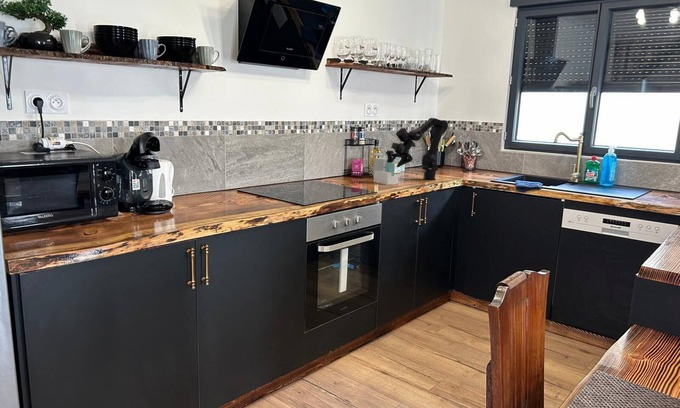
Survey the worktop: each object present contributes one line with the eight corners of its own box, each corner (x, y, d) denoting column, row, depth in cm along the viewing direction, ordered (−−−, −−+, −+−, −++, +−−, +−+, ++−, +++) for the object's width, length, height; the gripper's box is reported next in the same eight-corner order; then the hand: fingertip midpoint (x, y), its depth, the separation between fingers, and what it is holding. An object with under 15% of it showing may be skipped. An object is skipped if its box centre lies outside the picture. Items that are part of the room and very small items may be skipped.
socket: (385, 181, 313) (386, 169, 312) (399, 183, 304) (400, 172, 303) (373, 182, 307) (374, 170, 306) (387, 184, 298) (387, 172, 297)
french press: (373, 173, 350) (374, 137, 345) (388, 175, 343) (389, 138, 339) (365, 174, 342) (367, 137, 337) (380, 176, 335) (382, 138, 331)
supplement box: (382, 178, 324) (383, 159, 321) (372, 177, 328) (373, 158, 326) (388, 177, 330) (389, 158, 327) (378, 176, 334) (379, 157, 332)
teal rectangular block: (389, 182, 310) (390, 162, 308) (393, 182, 307) (394, 163, 304) (382, 182, 306) (383, 162, 304) (386, 183, 303) (388, 163, 301)
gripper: (388, 137, 313) (374, 155, 309) (410, 139, 299) (396, 158, 294) (397, 149, 320) (383, 168, 315) (419, 152, 305) (405, 171, 301)
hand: (391, 166), depth 306 cm, fingers open, 9 cm apart
